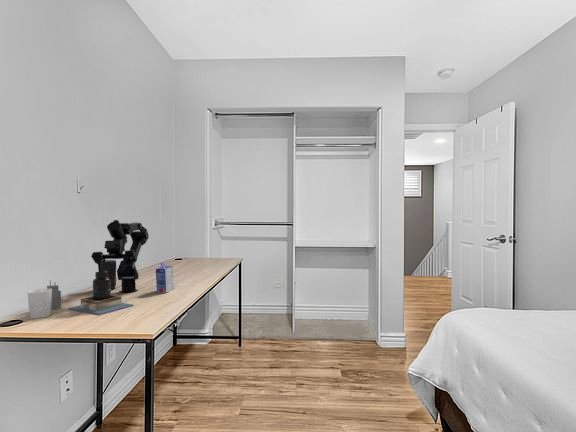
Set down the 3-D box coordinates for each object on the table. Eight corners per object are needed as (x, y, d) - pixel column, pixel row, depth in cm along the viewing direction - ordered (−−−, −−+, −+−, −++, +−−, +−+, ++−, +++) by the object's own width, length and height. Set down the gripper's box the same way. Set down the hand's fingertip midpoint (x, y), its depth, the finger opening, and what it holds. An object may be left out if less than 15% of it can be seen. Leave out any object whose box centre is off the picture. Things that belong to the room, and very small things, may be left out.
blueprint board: (68, 309, 154) (68, 308, 154) (102, 300, 169) (102, 299, 169) (100, 315, 145) (100, 313, 145) (133, 305, 160) (133, 304, 160)
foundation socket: (80, 307, 155) (80, 299, 154) (104, 302, 164) (104, 293, 164) (98, 310, 150) (98, 301, 150) (121, 304, 159) (121, 296, 159)
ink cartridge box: (164, 288, 194) (163, 261, 194) (174, 289, 194) (174, 261, 194) (155, 293, 184) (155, 263, 184) (166, 293, 184) (166, 264, 184)
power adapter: (47, 308, 157) (47, 279, 157) (61, 307, 158) (61, 279, 158) (44, 309, 154) (43, 280, 154) (58, 309, 155) (58, 280, 155)
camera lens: (106, 291, 188) (106, 262, 188) (95, 290, 192) (95, 261, 192) (120, 288, 196) (119, 260, 195) (109, 287, 199) (109, 259, 199)
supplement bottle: (112, 300, 156) (111, 272, 156) (93, 303, 152) (93, 273, 152) (109, 297, 162) (109, 270, 162) (92, 299, 158) (91, 271, 158)
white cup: (26, 320, 139) (26, 293, 139) (29, 315, 146) (29, 289, 146) (51, 317, 143) (51, 291, 143) (53, 312, 150) (53, 287, 150)
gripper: (91, 234, 169) (81, 262, 159) (133, 232, 170) (125, 260, 160) (100, 249, 177) (91, 277, 167) (140, 247, 178) (133, 275, 168)
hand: (110, 272), depth 165 cm, fingers open, 9 cm apart
